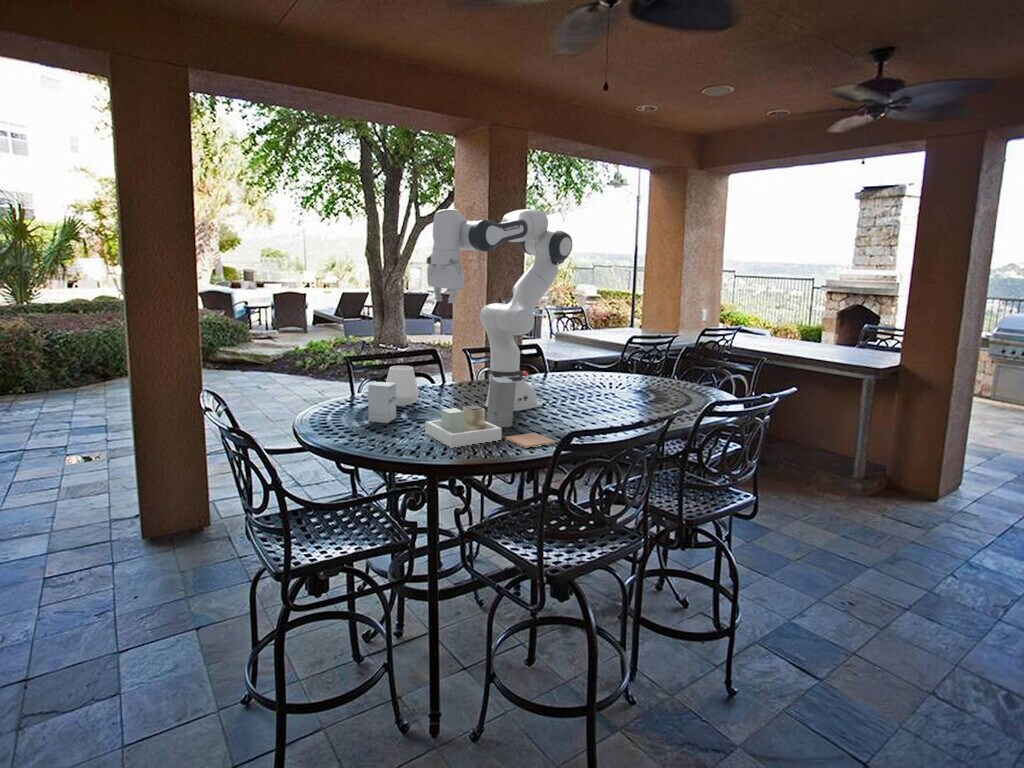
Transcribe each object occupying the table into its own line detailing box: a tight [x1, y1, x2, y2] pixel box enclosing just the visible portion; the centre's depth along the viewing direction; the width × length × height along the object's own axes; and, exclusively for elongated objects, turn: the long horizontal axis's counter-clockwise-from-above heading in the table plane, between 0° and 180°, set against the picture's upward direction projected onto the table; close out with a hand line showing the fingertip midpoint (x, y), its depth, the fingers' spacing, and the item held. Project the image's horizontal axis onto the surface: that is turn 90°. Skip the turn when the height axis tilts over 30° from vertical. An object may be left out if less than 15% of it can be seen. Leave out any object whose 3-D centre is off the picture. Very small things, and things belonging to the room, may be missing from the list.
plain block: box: [440, 407, 464, 434], centre depth 192 cm, size 5×5×9 cm
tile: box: [505, 432, 556, 449], centre depth 192 cm, size 11×11×1 cm
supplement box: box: [367, 381, 397, 424], centre depth 211 cm, size 7×7×13 cm
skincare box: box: [486, 377, 516, 428], centre depth 210 cm, size 8×7×16 cm
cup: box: [385, 365, 420, 407], centre depth 237 cm, size 13×13×14 cm
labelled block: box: [462, 405, 486, 432], centre depth 196 cm, size 5×5×9 cm
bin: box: [424, 419, 503, 449], centre depth 194 cm, size 17×17×4 cm
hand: (445, 302), depth 206 cm, fingers open, 8 cm apart
